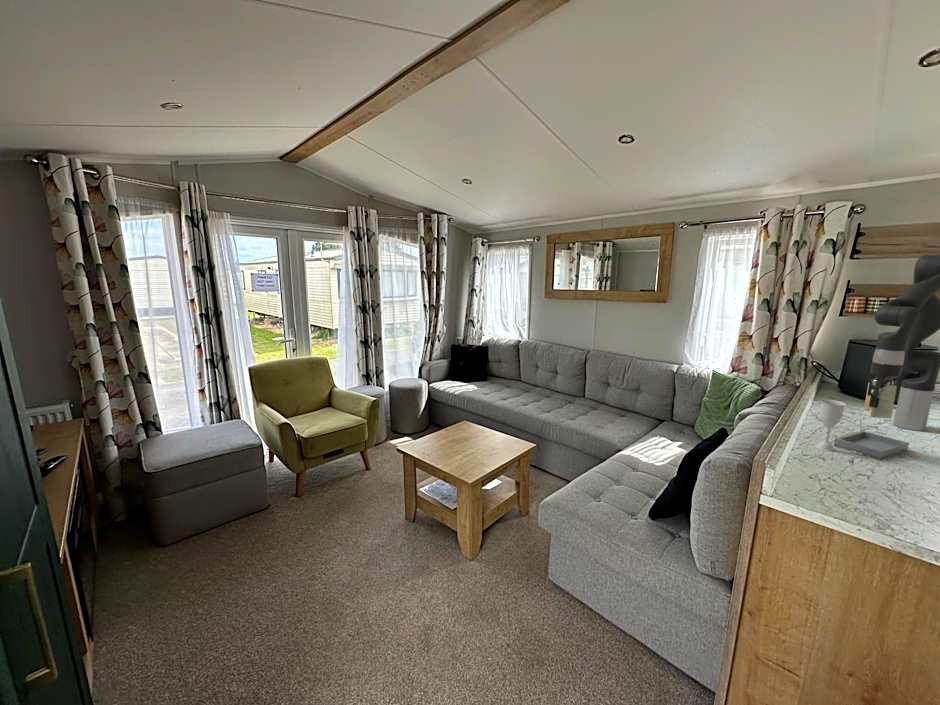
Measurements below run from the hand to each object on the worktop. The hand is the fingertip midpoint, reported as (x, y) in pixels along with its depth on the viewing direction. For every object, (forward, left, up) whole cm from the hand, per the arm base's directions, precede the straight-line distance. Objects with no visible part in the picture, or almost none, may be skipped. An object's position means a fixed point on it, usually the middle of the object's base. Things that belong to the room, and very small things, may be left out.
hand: (878, 405), depth 141 cm
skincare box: (0, 0, -4) cm, 4 cm away
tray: (0, 0, -17) cm, 17 cm away
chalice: (+16, -7, -17) cm, 24 cm away
